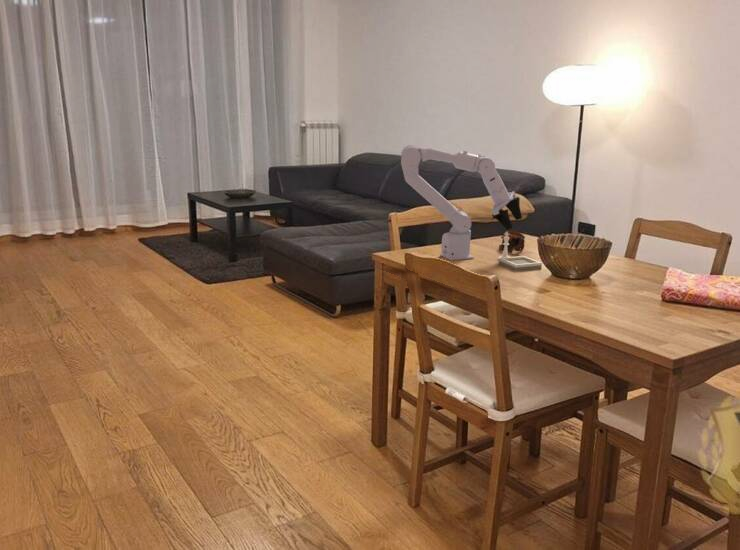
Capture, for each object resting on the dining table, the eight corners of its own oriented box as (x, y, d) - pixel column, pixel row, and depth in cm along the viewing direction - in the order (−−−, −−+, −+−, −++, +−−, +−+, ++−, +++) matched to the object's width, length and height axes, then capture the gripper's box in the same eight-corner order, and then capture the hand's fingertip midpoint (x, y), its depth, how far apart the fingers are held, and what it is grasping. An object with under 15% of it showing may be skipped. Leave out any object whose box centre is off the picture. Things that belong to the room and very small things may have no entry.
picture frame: (515, 271, 212) (515, 265, 211) (498, 263, 220) (499, 258, 220) (541, 268, 215) (541, 262, 215) (523, 261, 224) (524, 255, 224)
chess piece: (507, 262, 223) (509, 233, 220) (494, 259, 226) (496, 231, 223) (514, 260, 226) (517, 231, 223) (502, 257, 229) (504, 229, 227)
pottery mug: (491, 250, 242) (498, 230, 243) (511, 260, 246) (517, 239, 247) (511, 249, 231) (518, 227, 232) (531, 259, 235) (538, 237, 236)
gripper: (497, 194, 215) (515, 230, 218) (515, 177, 225) (532, 211, 227) (480, 201, 220) (498, 235, 223) (498, 183, 230) (516, 216, 233)
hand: (514, 223), depth 226 cm, fingers open, 7 cm apart
